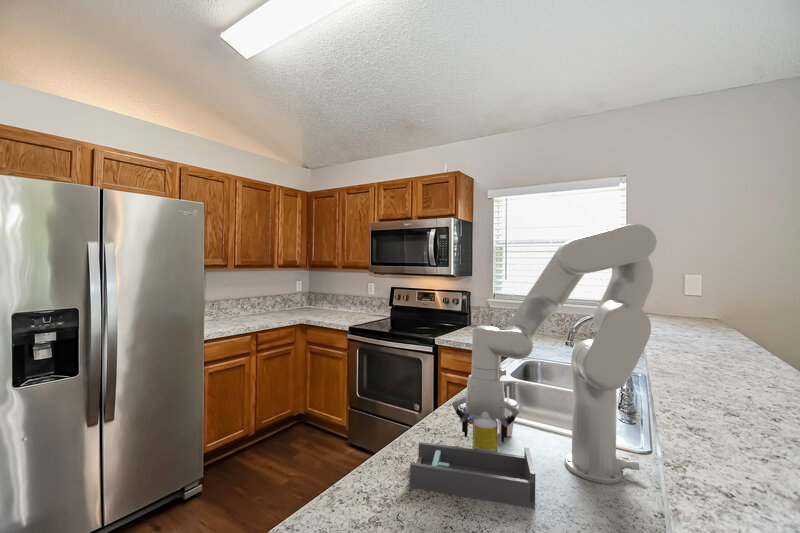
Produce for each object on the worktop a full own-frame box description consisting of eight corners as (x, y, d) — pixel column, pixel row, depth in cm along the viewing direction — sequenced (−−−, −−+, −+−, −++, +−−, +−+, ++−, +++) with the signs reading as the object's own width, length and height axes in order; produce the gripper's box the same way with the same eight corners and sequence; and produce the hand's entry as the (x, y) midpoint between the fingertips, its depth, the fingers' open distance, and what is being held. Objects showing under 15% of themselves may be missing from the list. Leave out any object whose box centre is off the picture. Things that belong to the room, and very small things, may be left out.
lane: (528, 478, 82) (528, 448, 82) (534, 508, 72) (535, 474, 72) (419, 461, 88) (419, 433, 88) (409, 487, 78) (410, 455, 78)
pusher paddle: (450, 464, 85) (450, 451, 85) (447, 483, 77) (447, 470, 77) (435, 462, 86) (436, 449, 86) (430, 481, 78) (431, 467, 78)
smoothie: (519, 439, 102) (520, 390, 102) (497, 438, 102) (498, 389, 102) (512, 429, 108) (513, 383, 108) (492, 428, 108) (492, 383, 109)
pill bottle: (498, 460, 90) (498, 414, 90) (472, 457, 91) (473, 412, 91) (496, 448, 96) (497, 405, 97) (472, 445, 98) (473, 403, 98)
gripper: (518, 372, 96) (516, 435, 96) (454, 366, 100) (452, 427, 100) (521, 380, 89) (519, 449, 88) (452, 373, 93) (450, 439, 92)
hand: (484, 437), depth 94 cm, fingers open, 9 cm apart
